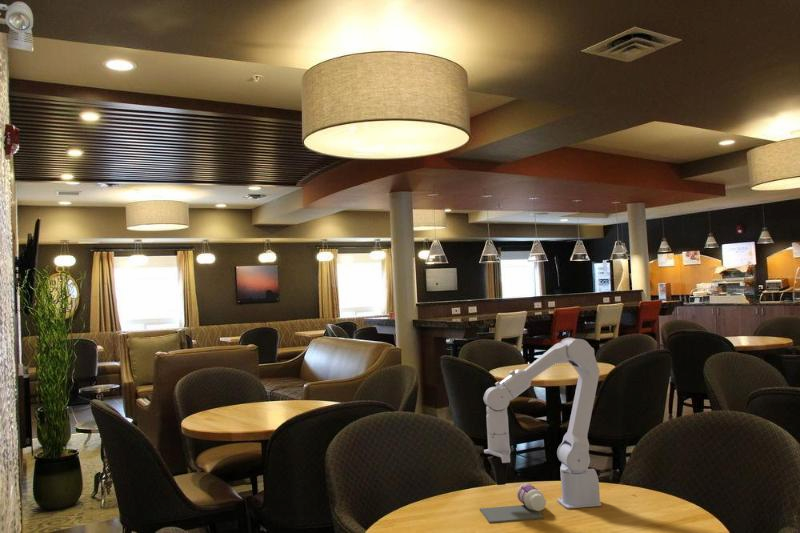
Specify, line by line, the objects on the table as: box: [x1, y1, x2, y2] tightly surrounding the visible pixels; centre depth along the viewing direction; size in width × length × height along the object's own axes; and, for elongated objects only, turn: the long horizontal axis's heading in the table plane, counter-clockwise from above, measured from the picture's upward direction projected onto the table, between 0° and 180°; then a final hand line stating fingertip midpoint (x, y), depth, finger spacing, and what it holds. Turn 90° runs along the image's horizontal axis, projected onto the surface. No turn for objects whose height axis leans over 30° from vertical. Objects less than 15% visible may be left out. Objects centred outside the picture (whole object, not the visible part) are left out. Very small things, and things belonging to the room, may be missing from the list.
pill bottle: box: [516, 483, 547, 512], centre depth 175 cm, size 5×5×10 cm
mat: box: [479, 504, 545, 524], centre depth 172 cm, size 14×11×1 cm
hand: (500, 484), depth 178 cm, fingers closed
